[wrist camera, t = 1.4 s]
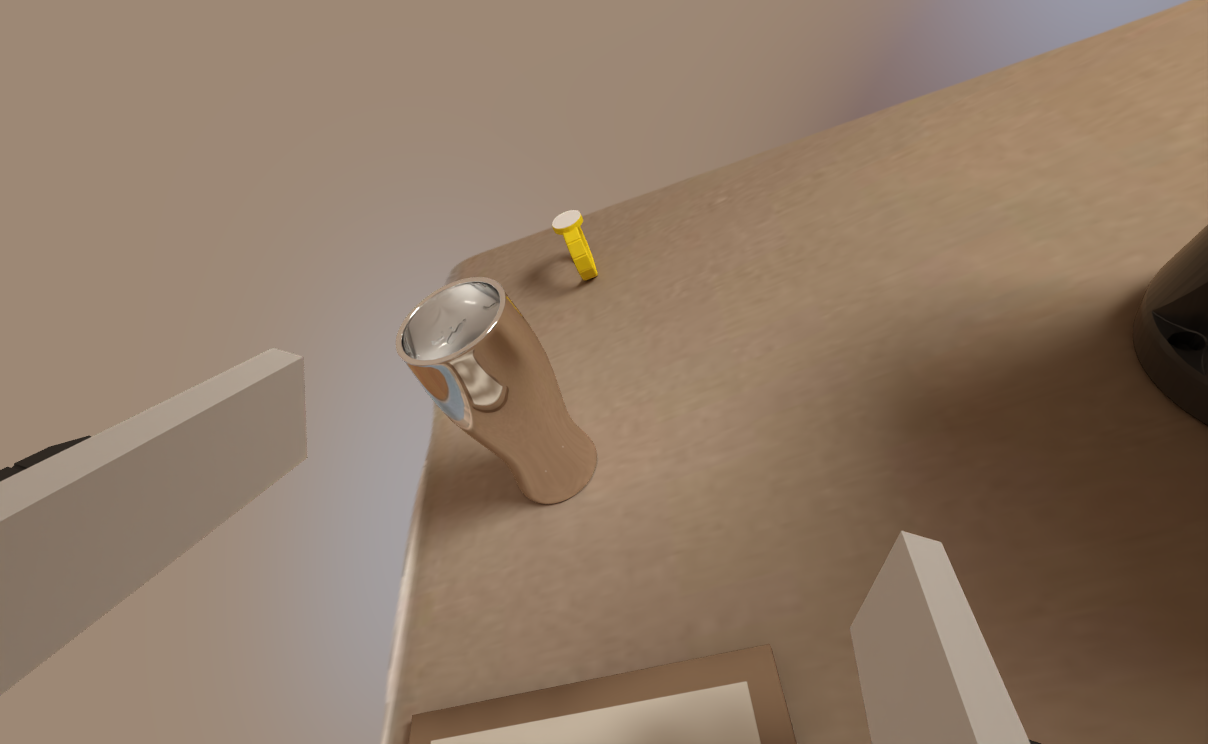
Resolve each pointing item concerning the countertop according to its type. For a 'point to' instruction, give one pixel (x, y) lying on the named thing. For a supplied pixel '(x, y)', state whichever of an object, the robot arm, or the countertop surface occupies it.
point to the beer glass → (497, 385)
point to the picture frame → (632, 708)
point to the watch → (576, 242)
